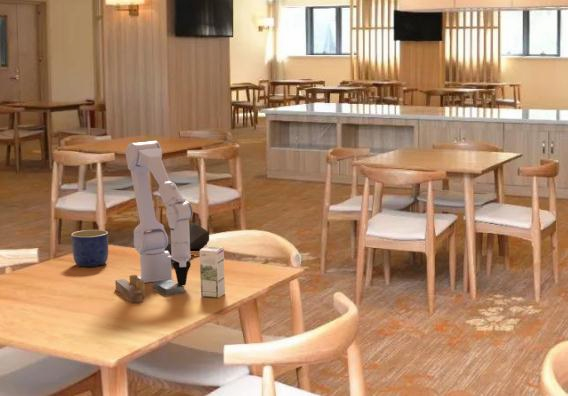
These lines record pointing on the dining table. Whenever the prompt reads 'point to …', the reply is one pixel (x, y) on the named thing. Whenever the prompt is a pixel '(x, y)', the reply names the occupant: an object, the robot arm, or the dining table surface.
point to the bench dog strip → (131, 289)
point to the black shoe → (194, 238)
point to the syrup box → (212, 272)
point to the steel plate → (168, 287)
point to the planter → (90, 247)
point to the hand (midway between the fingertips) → (181, 285)
